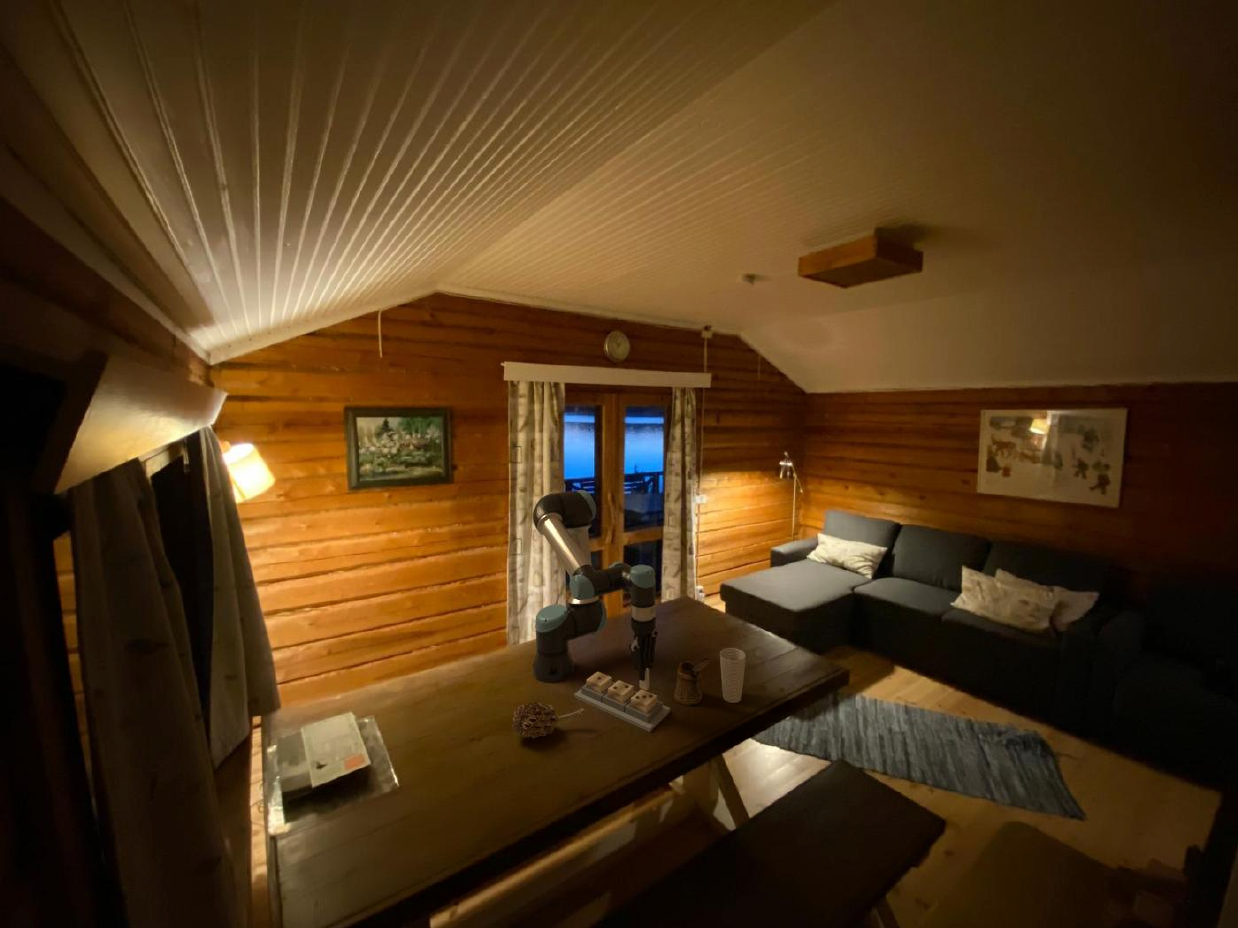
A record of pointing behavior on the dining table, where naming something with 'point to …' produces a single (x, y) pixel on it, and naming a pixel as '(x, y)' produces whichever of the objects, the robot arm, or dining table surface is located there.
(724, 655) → the cup
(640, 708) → the tile
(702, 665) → the wooden mug
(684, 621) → the dining table surface
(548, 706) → the pine cone
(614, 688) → the tile
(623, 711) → the button board
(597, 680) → the tan square block
